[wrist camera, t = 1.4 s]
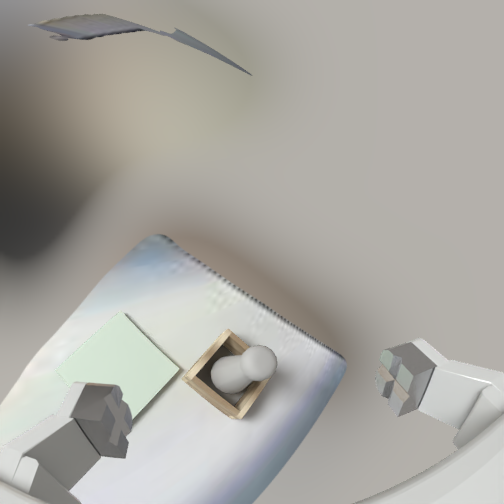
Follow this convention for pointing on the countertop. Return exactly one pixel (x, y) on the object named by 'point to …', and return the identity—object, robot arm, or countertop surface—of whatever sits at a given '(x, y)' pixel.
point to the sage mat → (120, 363)
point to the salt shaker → (243, 369)
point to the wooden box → (211, 396)
